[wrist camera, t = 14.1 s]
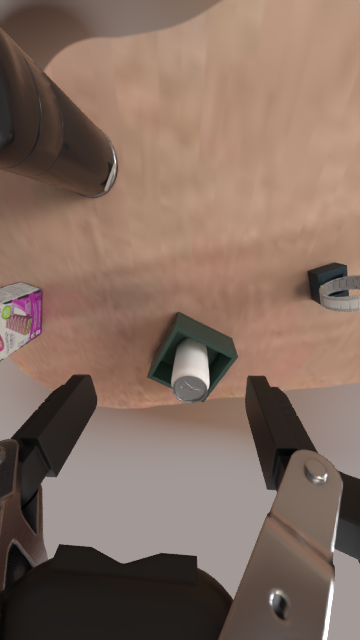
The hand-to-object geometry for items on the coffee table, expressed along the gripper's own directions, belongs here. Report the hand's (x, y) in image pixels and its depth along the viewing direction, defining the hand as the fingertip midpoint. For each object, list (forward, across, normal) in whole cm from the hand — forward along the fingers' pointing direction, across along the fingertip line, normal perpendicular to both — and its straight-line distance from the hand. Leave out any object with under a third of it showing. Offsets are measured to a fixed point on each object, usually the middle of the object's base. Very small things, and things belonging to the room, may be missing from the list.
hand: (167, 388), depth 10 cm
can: (+30, 0, +16) cm, 34 cm away
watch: (+30, -24, +2) cm, 39 cm away
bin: (+30, 0, +16) cm, 34 cm away
